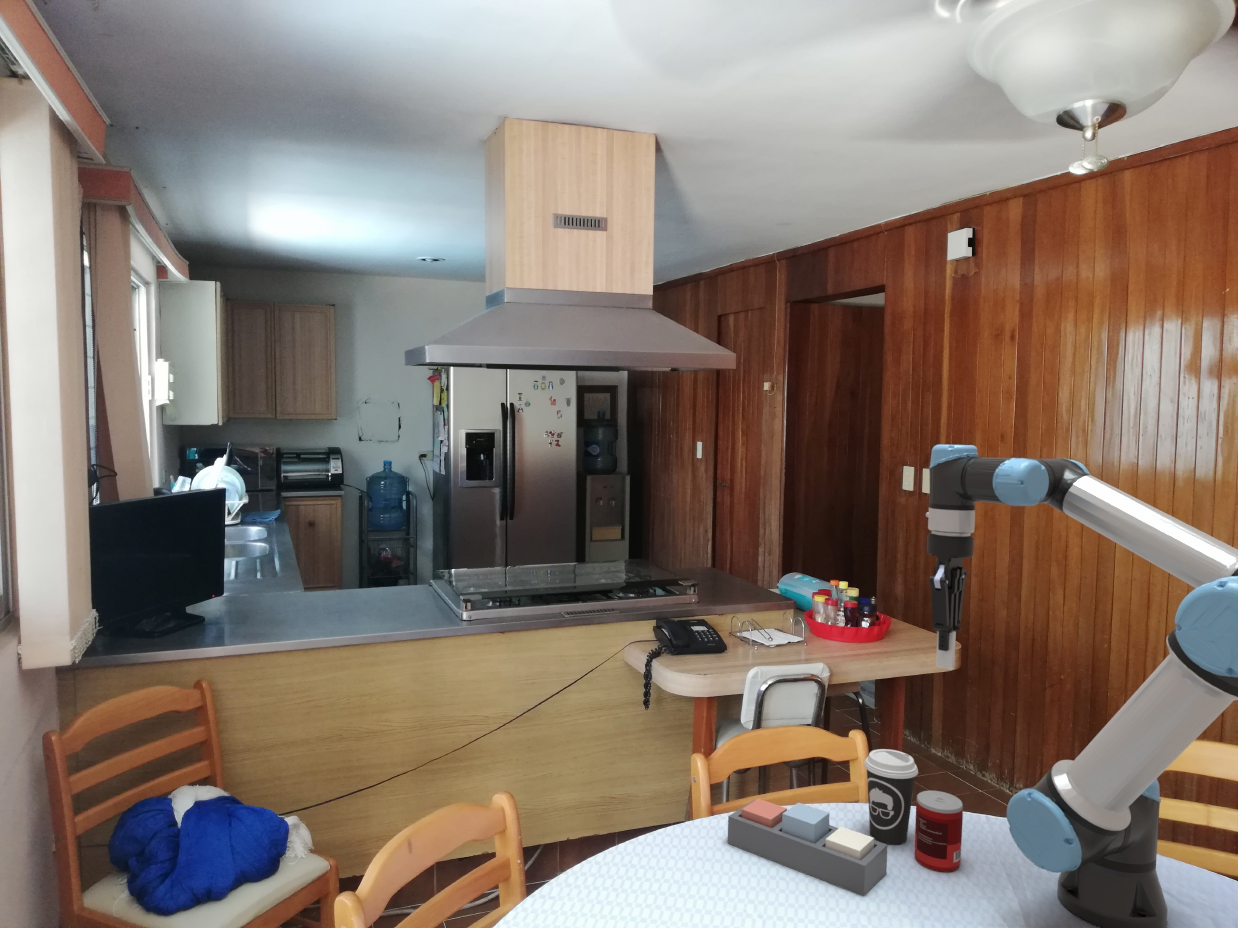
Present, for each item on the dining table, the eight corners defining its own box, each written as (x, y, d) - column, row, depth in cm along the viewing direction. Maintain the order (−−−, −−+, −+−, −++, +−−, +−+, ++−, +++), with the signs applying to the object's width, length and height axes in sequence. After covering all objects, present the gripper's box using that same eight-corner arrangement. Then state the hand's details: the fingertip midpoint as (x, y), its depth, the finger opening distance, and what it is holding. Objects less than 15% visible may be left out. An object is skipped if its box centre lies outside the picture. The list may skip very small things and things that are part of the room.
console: (886, 873, 142) (887, 844, 142) (863, 895, 135) (865, 865, 135) (753, 825, 158) (754, 799, 158) (727, 843, 151) (728, 815, 151)
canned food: (952, 851, 150) (955, 791, 150) (966, 874, 142) (969, 811, 142) (909, 848, 151) (911, 788, 151) (920, 870, 143) (923, 807, 143)
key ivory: (873, 860, 142) (874, 837, 142) (858, 874, 137) (859, 850, 137) (840, 848, 145) (840, 826, 145) (824, 861, 141) (825, 838, 141)
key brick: (786, 829, 152) (787, 808, 152) (770, 841, 147) (771, 819, 147) (757, 819, 156) (758, 798, 156) (740, 830, 151) (741, 808, 151)
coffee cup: (922, 849, 151) (926, 768, 150) (869, 847, 151) (872, 766, 150) (905, 825, 160) (908, 748, 160) (855, 823, 160) (858, 746, 160)
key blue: (828, 834, 147) (829, 812, 147) (813, 847, 142) (814, 824, 142) (797, 824, 151) (798, 802, 150) (781, 835, 146) (782, 813, 146)
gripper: (940, 528, 152) (935, 656, 153) (915, 533, 142) (910, 670, 143) (984, 532, 147) (978, 664, 148) (961, 538, 137) (955, 680, 138)
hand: (945, 667), depth 145 cm, fingers closed
